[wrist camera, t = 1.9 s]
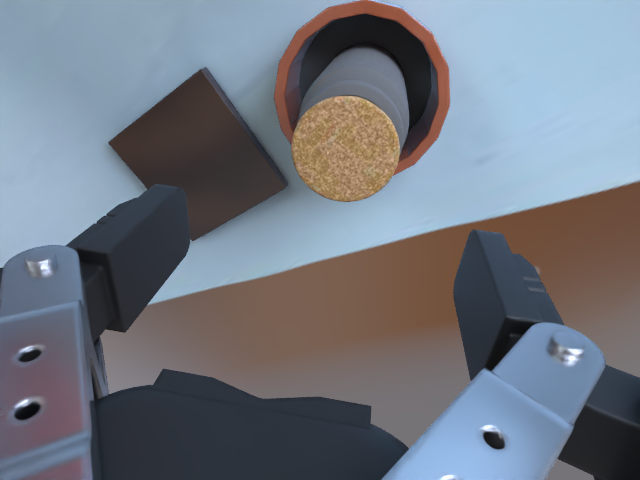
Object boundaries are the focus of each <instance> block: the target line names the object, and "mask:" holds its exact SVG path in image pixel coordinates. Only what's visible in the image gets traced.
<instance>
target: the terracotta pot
mask: <svg viewBox="0 0 640 480" xmlns="http://www.w3.org/2000/svg"><path fill="white" fill-rule="evenodd" d="M361 14H368V15H372V16H376V17H380V18H385V19H389V20H393V21H397V22H398V23H399V24H401V25H402V26H403V27H404V28H405V29H407V30H408V31H409V32H410V33H411V34H413V35H414V36H415V37H416V38H418V39H419V40H420V41H421V42H422V44H423V46H424V49H425V51H426V53H427V55H428V57H429V59H430V61H431V81H432V90H431V93H430V96H429V99H428V102H427V105H426V108H425V111H424V114H423V116H422V117H421V118H420V119H419V121H418V122H417V123H416V124H415V125H414V127H413V128H412V129H411V130H410V131H409V133H408V134H407V137H406V140H405V142H404V144H403V147H402V150H401V154H400V156H399V161H398V165H397V168H396V170H395V172H394V174H393V175H395V174H397V173H399V172H401V171H403V170H405V169H407V168H409V167H411V166H413V165H414V164H415V163H416V162H417V161H418V160H419V159H420V158H421V157H422V156H423V155H424V153H425V152H426V151H427V150H428V149H429V148H430V147H431V146H432V144H433V143H434V142H435V141H436V140H437V138H438V137H439V134H440V131H441V129H442V126H443V123H444V120H445V118H446V115H447V112H448V110H449V107H450V85H449V68H448V65H447V63H446V60H445V58H444V56H443V54H442V52H441V50H440V48H439V46H438V43H437V41H436V39H435V37H434V35H433V34H432V32H431V31H430V30H429V29H428V28H427V27H426V26H425V25H424V24H422V23H421V22H420V21H419V20H418V19H416V18H415V17H414V16H413V15H412V14H410V13H409V12H408V11H407V10H406V9H404V8H403V7H401V6H399V5H395V4H391V3H387V2H383V1H379V0H358V1H354V2H349V3H344V4H340V5H335V6H331V7H328V8H326V9H325V10H324V11H322V12H321V13H320V14H318V15H317V16H316V17H314V18H313V19H312V20H310V21H309V22H308V23H306V24H305V25H304V26H302V27H301V28H300V29H298V31H297V32H296V33H295V35H294V37H293V39H292V40H291V42H290V44H289V46H288V47H287V49H286V51H285V53H284V54H283V56H282V58H281V59H280V61H279V65H278V72H277V79H276V86H275V93H274V101H275V105H276V109H277V113H278V118H279V122H280V126H281V130H282V132H283V133H284V135H285V136H286V138H287V139H288V141H289V142H290V144H292V138H293V134H294V130H295V128H296V126H297V121H298V118H299V113H300V108H301V105H302V97H301V92H300V87H299V79H300V73H301V67H302V61H303V57H304V55H305V53H306V52H307V50H308V48H309V47H310V45H311V43H312V42H313V40H314V38H315V37H316V35H317V33H318V32H320V31H321V30H323V29H324V28H325V27H327V26H328V25H329V24H331V23H332V22H334V21H335V20H336V19H341V18H346V17H351V16H356V15H361Z"/></svg>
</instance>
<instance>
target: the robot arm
mask: <svg viewBox="0 0 640 480" xmlns="http://www.w3.org/2000/svg"><path fill="white" fill-rule="evenodd" d="M189 244H190V228H189V217H188V206H187V196H186V192H185V190H184V189H183V188H182V187H175V186H168V185H160V184H155V185H153V186H152V187H151V188H149V189H148V190H147V191H146V192H144V193H143V194H142V195H141V196H139V197H138V198H134V199H132V200H129V201H127V202H124V203H122V204H119V205H118V206H116V207H115V208H114V209H112V210H111V211H110V212H109V213H107V216H103V217H102V218H101V219H99V220H98V221H97V224H95V223H94V224H93V225H92V226H90V227H89V228H88V229H87V230H85V231H84V232H83V233H81V234H80V235H79V236H78V237H76V238H75V239H74V240H72V241H71V242H70V243H68V244H67V245H66V246H61V245H48V246H41V247H36V248H32V249H29V250H26V251H24V252H21V253H19V254H17V255H16V256H14V257H12V258H11V259H10V260H9V261H8V262H7V263H6V264H5V265H4V267H3V268H0V480H546V478H547V476H548V474H549V473H550V471H551V469H552V467H553V465H554V464H555V462H556V460H557V459H559V460H561V461H563V462H565V463H568V464H570V465H572V466H574V467H576V468H578V469H580V470H583V471H585V472H587V473H589V474H591V475H593V476H594V479H595V480H640V378H639V377H636V376H633V375H631V374H628V373H626V372H623V371H620V370H617V369H615V368H612V367H610V366H608V365H606V361H605V357H604V355H603V353H602V352H601V350H600V349H599V348H598V347H597V346H596V345H595V343H593V342H592V341H591V340H590V339H589V338H587V337H586V336H584V335H583V334H581V333H579V332H578V331H575V330H574V329H571V328H569V327H566V326H565V325H564V323H563V322H562V319H561V317H560V316H559V314H558V312H557V310H556V308H555V306H554V304H553V302H552V300H551V298H550V296H549V295H548V293H546V289H545V287H544V285H543V283H542V282H540V281H541V279H540V277H539V275H538V274H537V272H536V270H535V268H534V266H532V265H531V264H530V263H529V262H528V261H527V260H526V259H524V258H523V257H522V256H521V255H520V254H513V253H511V251H510V248H509V246H508V244H507V242H506V240H505V238H504V236H503V234H501V233H494V232H487V231H480V230H472V231H471V232H470V234H469V237H468V240H467V242H466V246H465V249H464V252H463V255H462V258H461V262H460V265H459V268H458V271H457V274H456V278H455V282H454V292H453V293H454V302H455V307H456V312H457V317H458V322H459V327H460V331H461V336H462V341H463V346H464V351H465V356H466V361H467V365H468V370H469V375H470V380H471V382H470V383H469V384H468V385H467V387H466V388H465V389H464V390H463V391H462V392H461V393H460V394H459V395H458V396H457V397H456V398H455V400H454V401H453V402H452V403H451V404H450V405H449V406H448V407H447V408H446V410H445V411H444V412H443V413H442V414H441V415H440V416H439V417H438V418H437V419H436V420H435V421H434V422H433V424H432V425H431V426H430V427H429V428H428V429H427V430H426V431H425V432H424V433H423V434H422V436H421V437H420V438H419V439H418V440H417V441H416V442H415V443H414V444H413V445H412V446H411V448H410V449H409V448H408V447H407V446H406V445H405V444H403V443H402V442H401V441H399V440H398V439H397V438H395V437H394V436H393V435H391V434H389V433H388V432H386V431H384V430H382V429H381V428H379V427H377V426H375V425H372V424H370V419H371V406H368V405H362V404H356V403H351V402H345V401H339V400H334V399H329V398H323V397H299V398H276V399H262V398H258V397H255V396H253V395H250V394H248V393H246V392H244V391H242V390H239V389H237V388H235V387H233V386H230V385H228V384H226V383H224V382H221V381H219V380H217V379H215V378H212V377H206V376H201V375H195V374H190V373H184V372H178V371H173V370H167V369H163V370H162V371H161V373H160V375H159V376H158V378H157V380H156V381H155V383H154V384H153V385H146V386H139V387H133V388H129V389H125V390H121V391H118V392H115V393H112V394H109V390H108V383H107V376H106V369H105V363H104V355H103V349H102V343H101V339H100V335H101V334H102V333H103V331H104V330H105V329H107V330H113V331H119V332H126V331H127V330H128V328H129V327H130V326H131V325H132V323H133V322H134V321H135V319H136V318H137V317H138V316H139V314H140V313H141V312H142V311H143V309H144V308H145V307H146V306H147V304H148V303H149V302H150V300H151V299H152V298H153V297H154V295H155V294H156V293H157V291H158V290H159V289H160V288H161V286H162V285H163V284H164V283H165V281H166V280H167V279H168V277H169V276H170V275H171V274H172V272H173V271H174V270H175V269H176V267H177V266H178V265H179V263H180V262H181V261H182V260H183V258H184V257H185V256H186V254H187V252H188V249H189Z"/></svg>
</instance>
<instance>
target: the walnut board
mask: <svg viewBox="0 0 640 480" xmlns="http://www.w3.org/2000/svg"><path fill="white" fill-rule="evenodd" d="M108 143H109V145H110V146H111V147H112V148H113V149H114V150H115V152H116V153H117V154H118V155H119V156H120V157H121V159H122V160H123V161H124V162H125V163H126V164H127V166H128V167H129V168H130V169H131V170H132V171H133V172H134V174H135V175H136V176H137V177H138V178H139V179H140V181H141V182H142V183H143V184H144V185H145V186H146V188H147V189H149V188H151V187H152V186H153V185H155V184H160V185H168V186H175V187H182V188H183V189H184V190H185V192H186V196H187V206H188V217H189V228H190V239H191V240H192V241H194V240H196V239H198V238H200V237H201V236H203V235H205V234H207V233H208V232H210V231H212V230H214V229H215V228H217V227H219V226H220V225H222V224H224V223H226V222H227V221H229V220H231V219H233V218H234V217H236V216H238V215H240V214H241V213H243V212H245V211H247V210H248V209H250V208H252V207H254V206H255V205H257V204H259V203H261V202H262V201H264V200H266V199H268V198H269V197H271V196H273V195H275V194H276V193H278V192H280V191H282V190H283V189H285V188H286V187H287V185H288V183H287V181H286V180H285V179H284V177H283V176H282V174H281V173H280V171H279V170H278V169H277V167H276V166H275V164H274V163H273V162H272V160H271V159H270V157H269V156H268V154H267V153H266V152H265V150H264V149H263V147H262V146H261V145H260V143H259V142H258V140H257V139H256V137H255V136H254V135H253V133H252V132H251V130H250V129H249V127H248V126H247V125H246V123H245V122H244V120H243V119H242V118H241V116H240V115H239V113H238V112H237V110H236V109H235V108H234V106H233V105H232V103H231V102H230V101H229V99H228V98H227V96H226V95H225V93H224V92H223V91H222V89H221V88H220V86H219V85H218V84H217V82H216V81H215V79H214V78H213V76H212V75H211V74H210V72H209V71H208V69H207V68H206V67H205V68H203V69H200V70H199V71H198V72H197V73H195V74H194V75H193V76H192V77H190V78H189V79H188V80H186V81H185V82H184V83H183V84H181V85H180V86H179V87H178V88H176V89H175V90H174V91H173V92H171V93H170V94H169V95H168V96H166V97H165V98H164V99H162V100H161V101H160V102H159V103H157V104H156V105H155V106H154V107H152V108H151V109H150V110H149V111H147V112H146V113H145V114H144V115H142V116H141V117H140V118H138V119H137V120H136V121H135V122H133V123H132V124H131V125H130V126H128V127H127V128H126V129H125V130H123V131H122V132H121V133H119V134H118V135H117V136H116V137H114V138H113V139H112V140H111V141H109V142H108Z"/></svg>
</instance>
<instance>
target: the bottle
mask: <svg viewBox="0 0 640 480" xmlns="http://www.w3.org/2000/svg"><path fill="white" fill-rule="evenodd" d="M408 128H409V109H408V100H407V94H406V87H405V80H404V76H403V72H402V69H401V67H400V65H399V63H398V61H397V60H396V58H395V57H394V56H393V55H392V54H391V53H390V52H389V51H388V50H386V49H384V48H383V47H380V46H378V45H375V44H367V43H364V44H357V45H353V46H351V47H348V48H346V49H345V50H343V51H342V52H341V53H339V54H338V55H337V56H336V57H335V58H334V59H333V60H332V61H331V62H330V64H329V65H328V66H327V67H326V68H325V69H324V70H323V71H322V73H321V74H320V75H319V76H318V77H317V79H316V80H315V81H314V82H313V84H312V85H311V86H310V88H309V89H308V91H307V93H306V94H305V96H304V99H303V102H302V105H301V108H300V113H299V118H298V121H297V126H296V128H295V130H294V134H293V138H292V144H291V152H292V158H293V163H294V166H295V168H296V170H297V172H298V174H299V176H300V177H301V179H302V180H303V181H304V183H305V184H306V185H307V186H308V187H309V188H310V189H312V190H313V191H314V192H316V193H317V194H319V195H321V196H323V197H325V198H328V199H331V200H335V201H342V202H350V201H358V200H362V199H365V198H368V197H370V196H372V195H373V194H375V193H377V192H378V191H380V190H381V189H382V188H383V187H384V186H385V185H386V184H387V183H388V182H389V181H390V179H391V178H392V176H393V174H394V172H395V170H396V168H397V165H398V161H399V156H400V154H401V150H402V147H403V144H404V142H405V140H406V137H407V133H408Z"/></svg>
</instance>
